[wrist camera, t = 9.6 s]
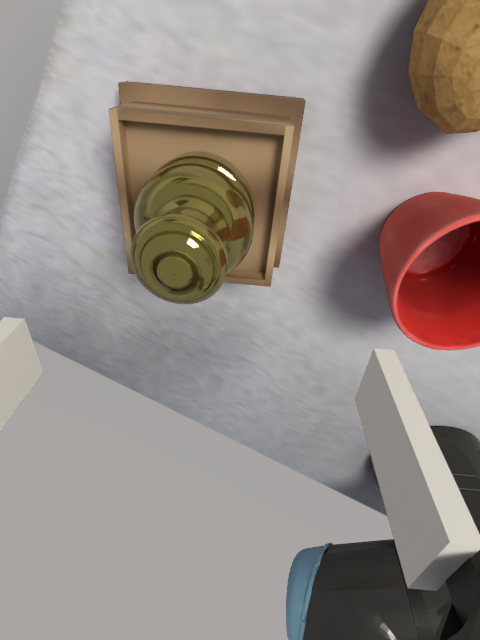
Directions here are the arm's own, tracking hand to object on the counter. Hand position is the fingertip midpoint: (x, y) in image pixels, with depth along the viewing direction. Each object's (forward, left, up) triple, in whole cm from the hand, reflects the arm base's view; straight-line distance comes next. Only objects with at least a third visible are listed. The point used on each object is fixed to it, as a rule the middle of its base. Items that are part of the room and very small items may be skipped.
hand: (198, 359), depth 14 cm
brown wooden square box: (+1, +2, -21) cm, 21 cm away
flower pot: (-2, -17, -21) cm, 27 cm away
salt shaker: (+1, +2, -15) cm, 15 cm away
